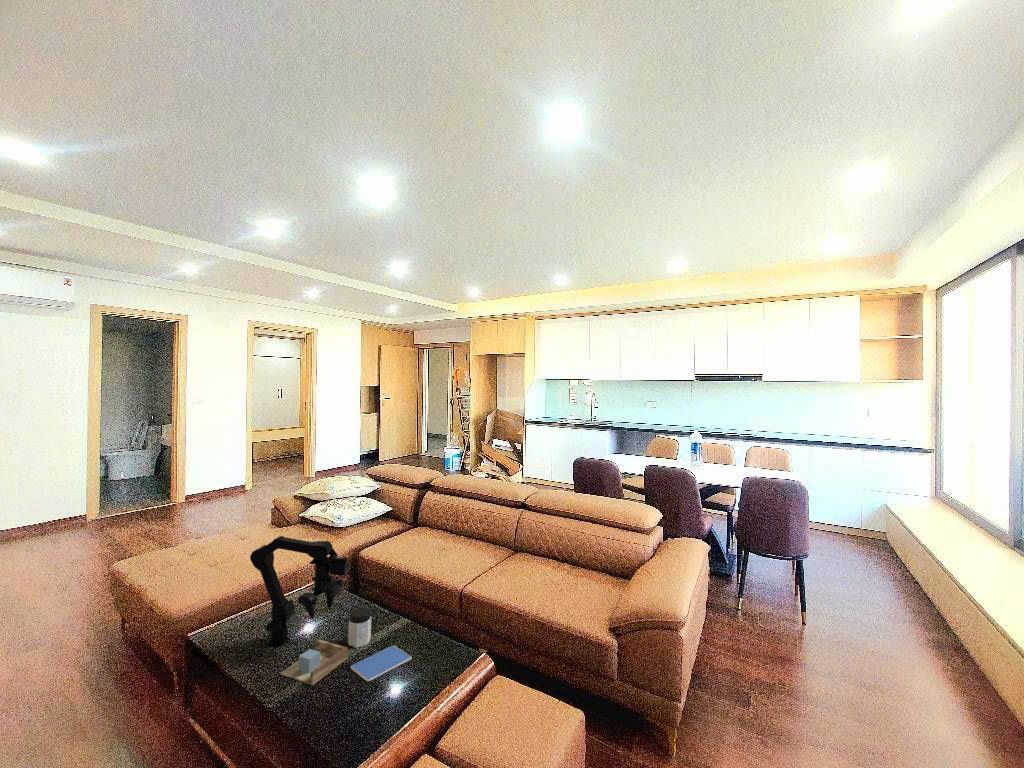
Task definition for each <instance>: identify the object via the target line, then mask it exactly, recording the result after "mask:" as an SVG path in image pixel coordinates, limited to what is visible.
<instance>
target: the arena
mask: <svg viewBox="0 0 1024 768" xmlns="http://www.w3.org/2000/svg"><path fill="white" fill-rule="evenodd" d="M348 649H349V648H348V647H347V646H343V645H339V644H336V643H332V642H330V641H327V640H326V641H325V640H322V639H318V638H317V639H315V640H314V650H315V651H318V652H320V666H319V667H317V668H316V669H314V670H313V671H312V672H310V673H305V672H302V671H299V660H297V661H296V662H294V663H293V664H292V665H290V666H289V667H287V668H286V669H284V670H282V671H281V672H280V676H284V677H287V678H290V679H291V680H292V679H293V680H295V681H298V682H301V683H304V684H306V685H310V686H314V685H315V684H316V683H318V682H319V681H320V680H321V679H323V678H324V677H325V676H327V675H328V674H329V673H330V672H332V671H333V670H335V669H336V668H337V667H338V666H340V665H341V664H342V663H343V662H345V661H346V660H347V659H348Z"/></svg>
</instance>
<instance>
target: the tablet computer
mask: <svg viewBox="0 0 1024 768" xmlns="http://www.w3.org/2000/svg"><path fill="white" fill-rule="evenodd" d="M412 659H413V658H412V656H411V655H410V654H407V653H406V652H405V651H404V650H402V649H400V648H399V647H397V646H396V645H391V646H389V647H387V648H385V649H383V650H381V651H379V652H377V653H374V654H372V655H370V656H368V657H367V658H364V659H362V660H360V661H358V662H356V663H353V664H351V665H350V670H351V671H353V672H354V673H356V675H358V676H359V677H360V678H361V679H362V680H364V681H365V682H371V681H372V680H374V679H376V678H378V677H379V676H382V675H383V674H385V673H387V672H390V671H392V670H394V669H395V668H397V667H399V666H401V665H403V664H405V663H407V662H409V661H411V660H412Z"/></svg>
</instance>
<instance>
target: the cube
mask: <svg viewBox="0 0 1024 768" xmlns="http://www.w3.org/2000/svg"><path fill="white" fill-rule="evenodd" d="M298 661H299V671H302V672H305V673H310V672H312V671H313V670H314V669H316V668H317V667H319V666H320V652H318V651H315V649H311V648H309V649H308V650H306V651H305V652H303V653H302V654H300V655H298Z"/></svg>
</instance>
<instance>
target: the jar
mask: <svg viewBox="0 0 1024 768" xmlns="http://www.w3.org/2000/svg"><path fill="white" fill-rule="evenodd" d="M371 612H372V611H371V609H370V608H368V607H358V608H357V607H356V608H354V609H352V610H351V611H350V613H349V620H348V635H347V637H348V638H347V644H348V645H347V646H351V647H354V648H360V647H364V646H366V645H367V646H368V644H369V642H370V640H371V638H372V637H371V636H372V635H371V633H372V615H371Z"/></svg>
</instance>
